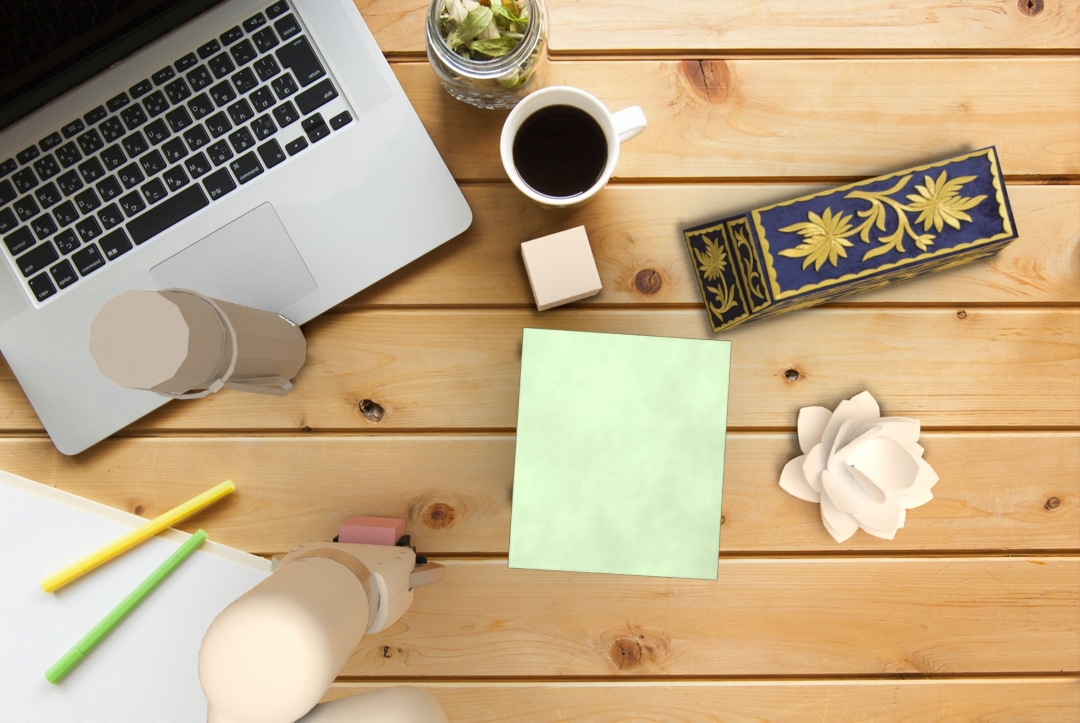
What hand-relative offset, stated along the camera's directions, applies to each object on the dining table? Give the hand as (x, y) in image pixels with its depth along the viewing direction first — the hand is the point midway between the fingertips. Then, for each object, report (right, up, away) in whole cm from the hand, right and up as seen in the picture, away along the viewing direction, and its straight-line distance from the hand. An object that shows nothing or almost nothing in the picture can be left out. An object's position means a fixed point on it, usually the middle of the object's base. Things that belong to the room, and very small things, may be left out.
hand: (375, 549), depth 70 cm
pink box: (0, 0, 0) cm, 0 cm away
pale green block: (+21, +11, +3) cm, 24 cm away
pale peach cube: (+18, +27, +3) cm, 32 cm away
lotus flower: (+46, +8, +4) cm, 47 cm away
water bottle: (-10, +18, +3) cm, 21 cm away
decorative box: (+46, +30, +4) cm, 55 cm away
